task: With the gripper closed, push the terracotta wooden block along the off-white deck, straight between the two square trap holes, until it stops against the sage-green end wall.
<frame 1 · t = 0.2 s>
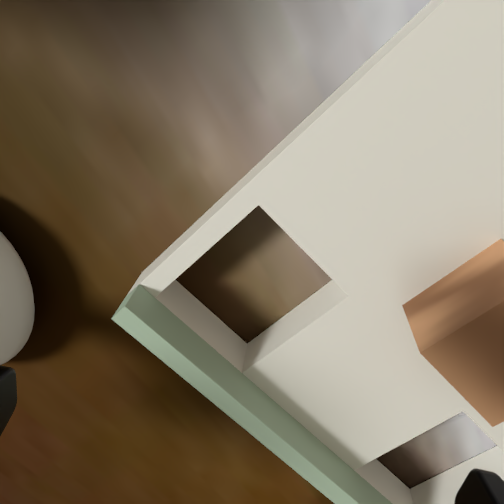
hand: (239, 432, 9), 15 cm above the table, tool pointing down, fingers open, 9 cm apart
block: (481, 309, 21), point 2 cm above the table, touching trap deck
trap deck: (447, 294, 23), on the table
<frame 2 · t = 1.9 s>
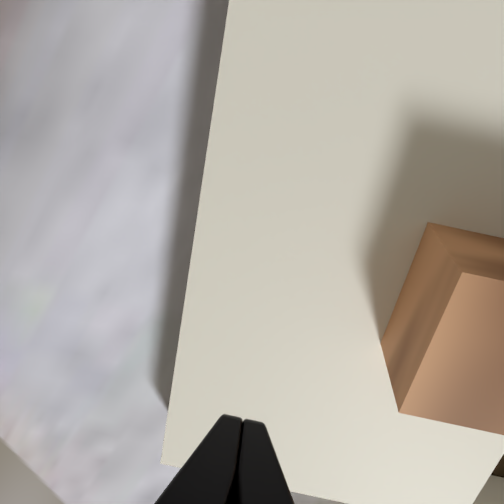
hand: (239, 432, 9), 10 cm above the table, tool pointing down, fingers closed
block: (472, 301, 16), point 2 cm above the table, touching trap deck
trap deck: (475, 273, 18), on the table
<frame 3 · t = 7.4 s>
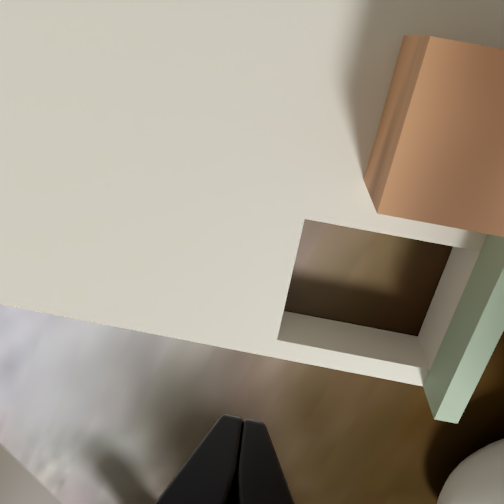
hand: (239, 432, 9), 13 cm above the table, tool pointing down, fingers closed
block: (452, 125, 16), point 2 cm above the table, touching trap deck
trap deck: (254, 80, 18), on the table
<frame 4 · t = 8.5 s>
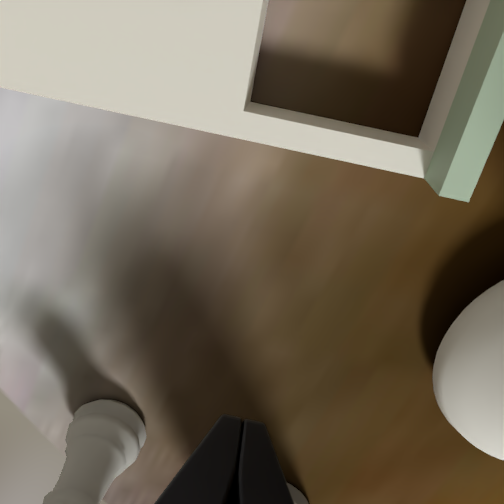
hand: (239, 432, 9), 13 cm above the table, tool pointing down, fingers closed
rook chess piece: (113, 420, 28), on the table
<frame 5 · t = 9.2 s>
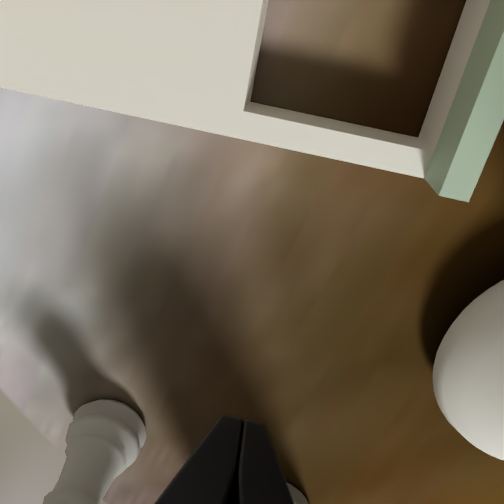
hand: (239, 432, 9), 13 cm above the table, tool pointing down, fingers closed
rook chess piece: (113, 420, 28), on the table
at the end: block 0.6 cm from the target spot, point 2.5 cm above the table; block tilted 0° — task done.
